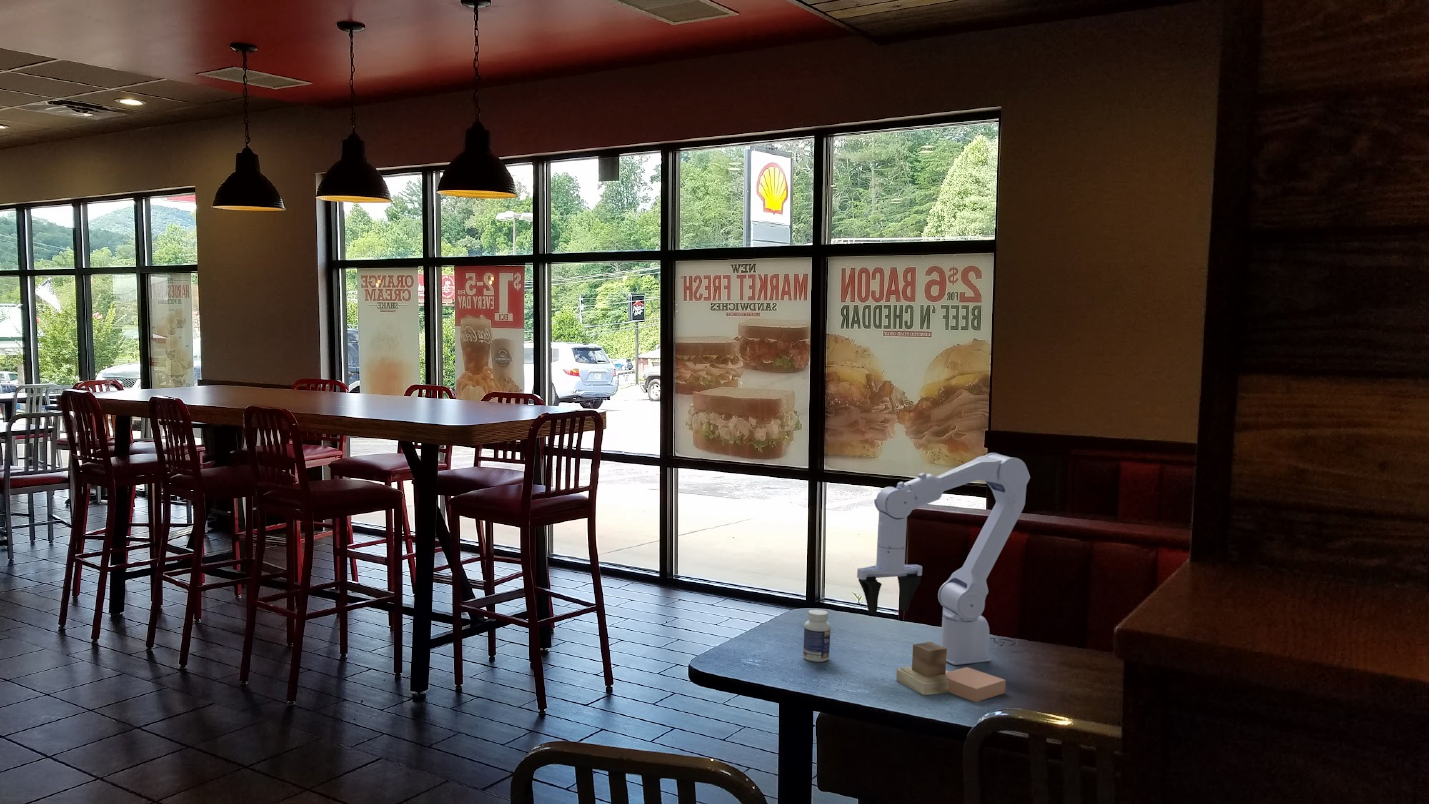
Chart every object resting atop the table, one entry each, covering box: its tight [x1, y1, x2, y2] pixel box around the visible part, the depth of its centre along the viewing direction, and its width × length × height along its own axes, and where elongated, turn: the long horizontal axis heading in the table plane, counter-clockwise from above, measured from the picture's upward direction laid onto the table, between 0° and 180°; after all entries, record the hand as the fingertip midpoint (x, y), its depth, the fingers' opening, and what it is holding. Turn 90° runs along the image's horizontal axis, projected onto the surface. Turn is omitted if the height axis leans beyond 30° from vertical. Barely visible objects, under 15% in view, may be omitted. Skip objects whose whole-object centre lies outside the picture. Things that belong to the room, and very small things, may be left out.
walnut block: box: [911, 641, 947, 677], centre depth 195 cm, size 4×4×5 cm
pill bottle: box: [802, 609, 832, 663], centre depth 208 cm, size 5×5×10 cm
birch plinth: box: [895, 666, 953, 696], centre depth 195 cm, size 9×9×2 cm
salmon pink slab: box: [939, 666, 1007, 703], centre depth 193 cm, size 9×9×2 cm
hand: (888, 611), depth 208 cm, fingers open, 7 cm apart
